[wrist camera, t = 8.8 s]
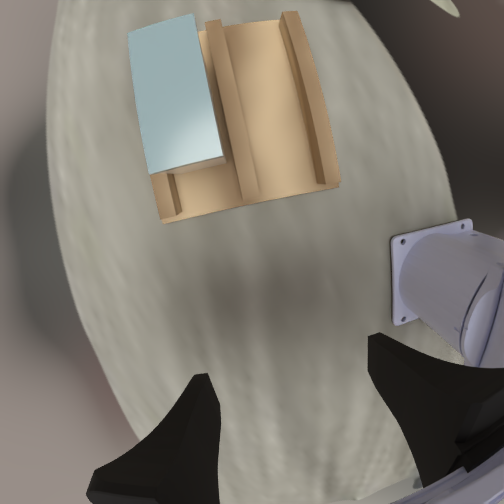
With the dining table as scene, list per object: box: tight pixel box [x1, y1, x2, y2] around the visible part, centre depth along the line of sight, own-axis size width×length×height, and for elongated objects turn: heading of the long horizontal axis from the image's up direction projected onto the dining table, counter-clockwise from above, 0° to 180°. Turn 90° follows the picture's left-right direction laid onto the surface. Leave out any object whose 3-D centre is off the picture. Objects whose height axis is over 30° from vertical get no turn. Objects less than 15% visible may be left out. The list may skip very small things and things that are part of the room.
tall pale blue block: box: [127, 13, 227, 175], centre depth 13 cm, size 3×7×7 cm, turn 11°
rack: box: [150, 11, 341, 224], centre depth 16 cm, size 12×13×3 cm
